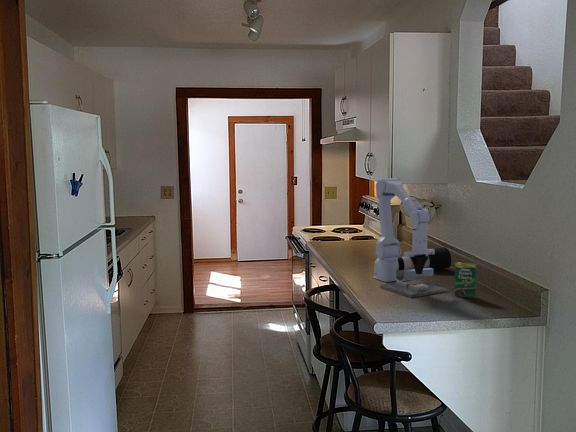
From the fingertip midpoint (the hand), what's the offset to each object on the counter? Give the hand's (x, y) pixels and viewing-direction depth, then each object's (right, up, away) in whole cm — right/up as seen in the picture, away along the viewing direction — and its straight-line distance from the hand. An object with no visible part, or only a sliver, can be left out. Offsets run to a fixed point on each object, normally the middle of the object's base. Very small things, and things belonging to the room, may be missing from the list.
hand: (418, 273), depth 213 cm
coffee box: (+17, -8, -6) cm, 19 cm away
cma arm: (+1, -3, +12) cm, 13 cm away
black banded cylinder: (+7, -3, +39) cm, 39 cm away
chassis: (-1, -7, +5) cm, 8 cm away
